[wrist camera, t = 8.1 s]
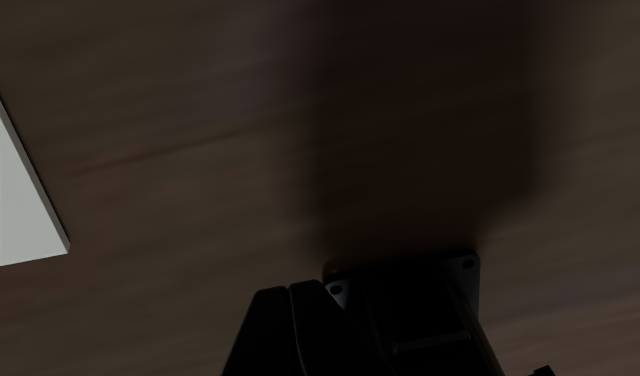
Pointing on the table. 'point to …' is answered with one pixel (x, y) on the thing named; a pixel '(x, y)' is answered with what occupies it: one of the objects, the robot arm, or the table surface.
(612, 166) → the table surface
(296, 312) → the robot arm
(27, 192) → the mat
